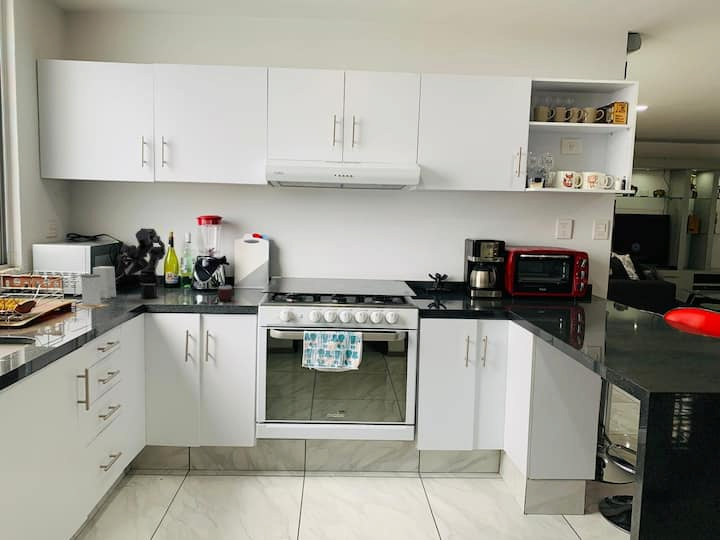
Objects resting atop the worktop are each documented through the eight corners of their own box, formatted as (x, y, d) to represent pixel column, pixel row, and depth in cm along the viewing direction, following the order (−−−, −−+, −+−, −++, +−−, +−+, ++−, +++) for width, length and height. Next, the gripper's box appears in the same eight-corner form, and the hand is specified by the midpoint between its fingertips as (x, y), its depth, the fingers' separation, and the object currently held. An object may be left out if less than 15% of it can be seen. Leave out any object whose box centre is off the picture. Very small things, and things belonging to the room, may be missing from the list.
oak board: (96, 304, 258) (96, 302, 258) (111, 307, 251) (110, 304, 251) (71, 307, 248) (71, 305, 248) (85, 310, 242) (85, 308, 241)
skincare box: (116, 297, 275) (115, 266, 274) (107, 299, 269) (106, 267, 267) (102, 296, 277) (101, 265, 276) (93, 298, 271) (92, 267, 269)
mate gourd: (234, 302, 267) (234, 271, 265) (218, 303, 263) (217, 272, 262) (230, 299, 273) (230, 270, 272) (214, 300, 270) (214, 270, 268)
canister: (94, 303, 254) (92, 273, 253) (101, 304, 251) (99, 274, 250) (82, 305, 249) (80, 275, 248) (89, 306, 246) (87, 275, 245)
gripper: (120, 238, 265) (99, 262, 257) (142, 239, 254) (121, 264, 247) (135, 253, 272) (115, 277, 264) (157, 255, 262) (137, 280, 254)
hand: (122, 274), depth 257 cm, fingers open, 9 cm apart
